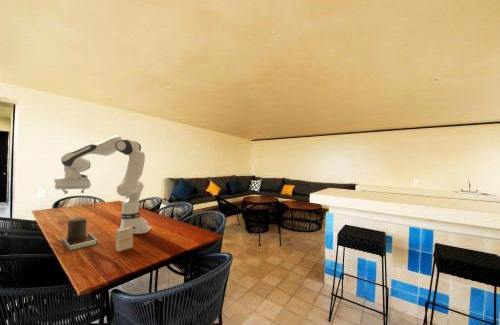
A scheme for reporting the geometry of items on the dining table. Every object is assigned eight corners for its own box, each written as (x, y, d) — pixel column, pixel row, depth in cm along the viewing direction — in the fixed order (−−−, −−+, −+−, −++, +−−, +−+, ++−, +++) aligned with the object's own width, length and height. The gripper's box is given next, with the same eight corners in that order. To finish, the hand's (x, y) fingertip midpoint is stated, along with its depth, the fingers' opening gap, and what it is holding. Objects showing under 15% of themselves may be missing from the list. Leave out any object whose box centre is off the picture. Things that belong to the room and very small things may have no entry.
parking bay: (62, 241, 134) (62, 237, 134) (88, 235, 145) (89, 232, 145) (68, 250, 121) (68, 246, 121) (97, 243, 132) (97, 239, 132)
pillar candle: (74, 242, 133) (76, 219, 133) (63, 240, 135) (64, 218, 135) (89, 237, 142) (90, 216, 142) (78, 236, 144) (79, 215, 144)
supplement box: (129, 246, 131) (130, 225, 131) (132, 248, 128) (133, 227, 128) (115, 250, 124) (115, 228, 124) (117, 252, 121) (118, 230, 121)
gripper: (55, 175, 145) (56, 191, 139) (90, 175, 161) (92, 190, 155) (53, 180, 147) (54, 196, 142) (87, 180, 164) (90, 194, 158)
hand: (74, 193), depth 149 cm, fingers open, 8 cm apart
